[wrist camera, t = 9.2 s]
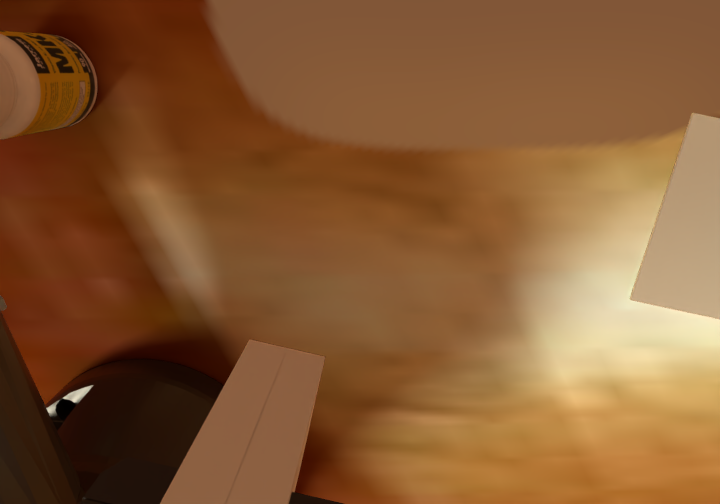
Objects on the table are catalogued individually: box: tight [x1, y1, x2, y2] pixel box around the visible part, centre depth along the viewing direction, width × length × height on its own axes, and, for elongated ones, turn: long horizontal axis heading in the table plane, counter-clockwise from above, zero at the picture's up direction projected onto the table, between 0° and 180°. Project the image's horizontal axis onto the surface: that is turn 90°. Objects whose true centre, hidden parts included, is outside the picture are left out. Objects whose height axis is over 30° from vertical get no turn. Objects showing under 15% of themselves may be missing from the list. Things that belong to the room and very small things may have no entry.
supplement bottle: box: [0, 31, 98, 139], centre depth 32 cm, size 5×5×8 cm
